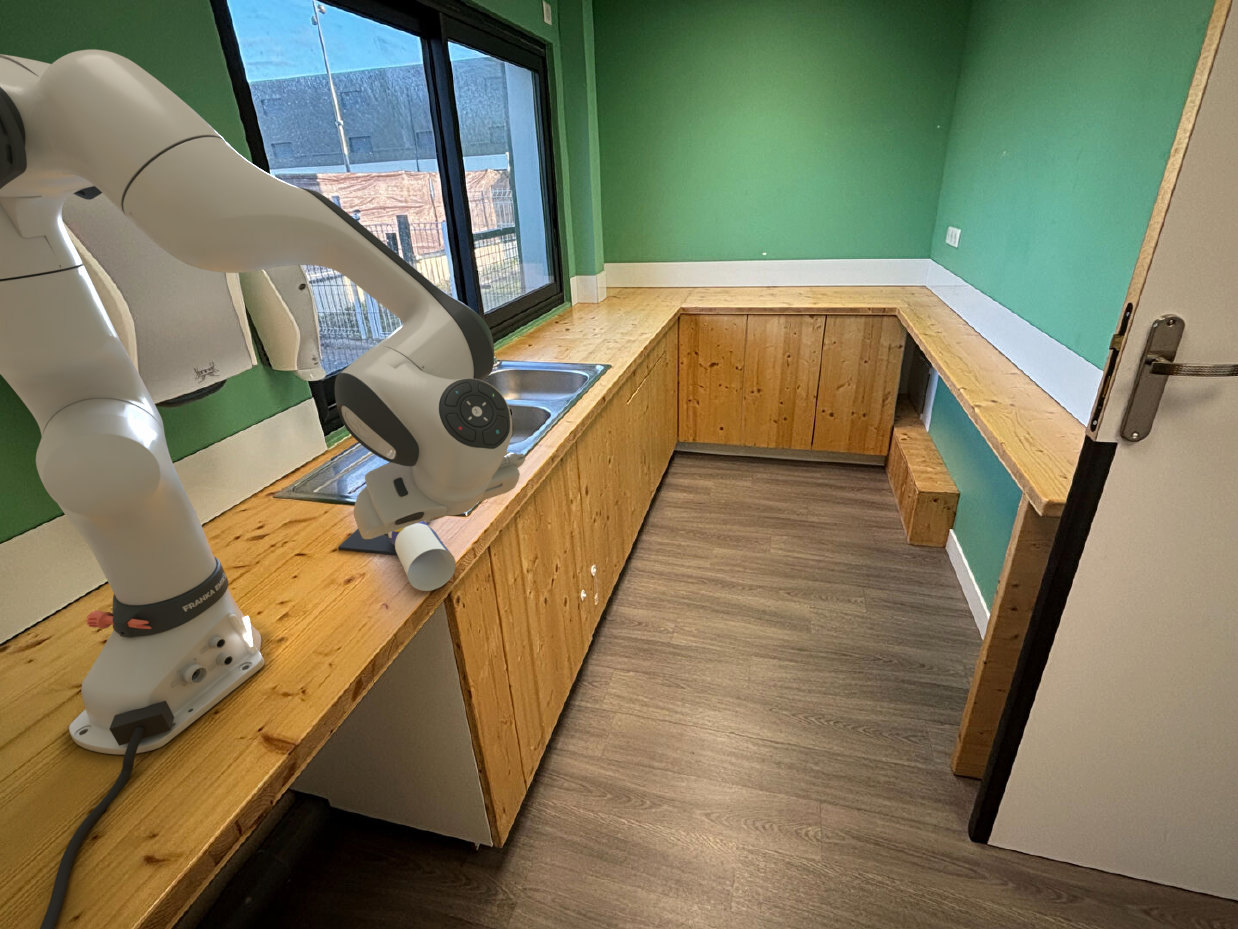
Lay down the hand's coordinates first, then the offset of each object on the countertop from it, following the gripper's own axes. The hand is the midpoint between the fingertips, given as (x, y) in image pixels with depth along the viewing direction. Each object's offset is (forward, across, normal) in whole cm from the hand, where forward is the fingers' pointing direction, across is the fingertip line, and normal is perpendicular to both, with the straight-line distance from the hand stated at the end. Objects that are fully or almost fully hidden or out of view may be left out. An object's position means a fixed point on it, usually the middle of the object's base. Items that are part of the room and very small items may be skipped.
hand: (433, 514), depth 81 cm
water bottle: (+18, -1, +4) cm, 18 cm away
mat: (+36, 0, -9) cm, 38 cm away
